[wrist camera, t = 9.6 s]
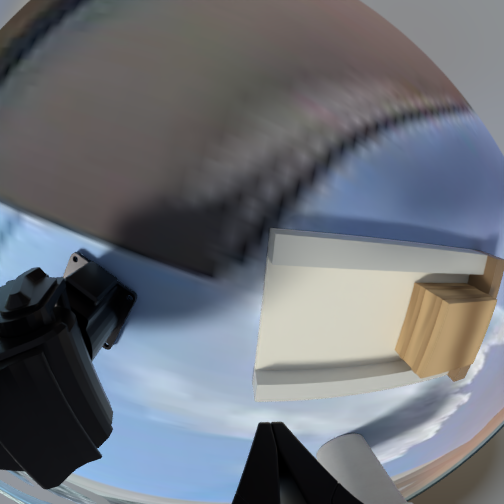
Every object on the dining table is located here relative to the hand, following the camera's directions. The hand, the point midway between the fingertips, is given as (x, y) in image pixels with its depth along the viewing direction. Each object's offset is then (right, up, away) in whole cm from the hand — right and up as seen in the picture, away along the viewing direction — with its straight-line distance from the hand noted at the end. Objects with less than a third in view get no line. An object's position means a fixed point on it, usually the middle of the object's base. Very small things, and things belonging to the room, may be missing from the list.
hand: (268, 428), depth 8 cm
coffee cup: (+11, -19, +19) cm, 29 cm away
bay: (+12, 0, +14) cm, 19 cm away
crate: (+17, 0, +14) cm, 23 cm away
